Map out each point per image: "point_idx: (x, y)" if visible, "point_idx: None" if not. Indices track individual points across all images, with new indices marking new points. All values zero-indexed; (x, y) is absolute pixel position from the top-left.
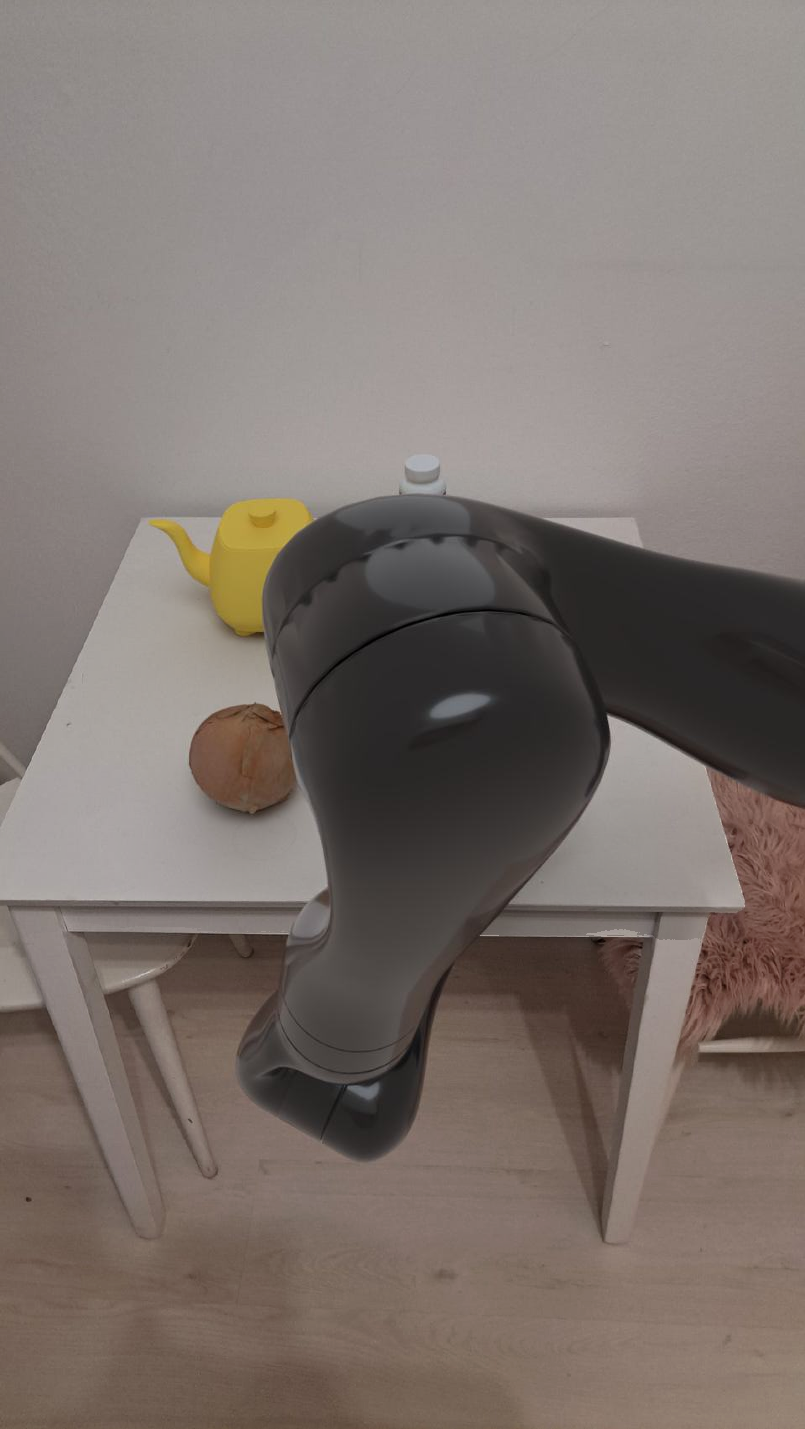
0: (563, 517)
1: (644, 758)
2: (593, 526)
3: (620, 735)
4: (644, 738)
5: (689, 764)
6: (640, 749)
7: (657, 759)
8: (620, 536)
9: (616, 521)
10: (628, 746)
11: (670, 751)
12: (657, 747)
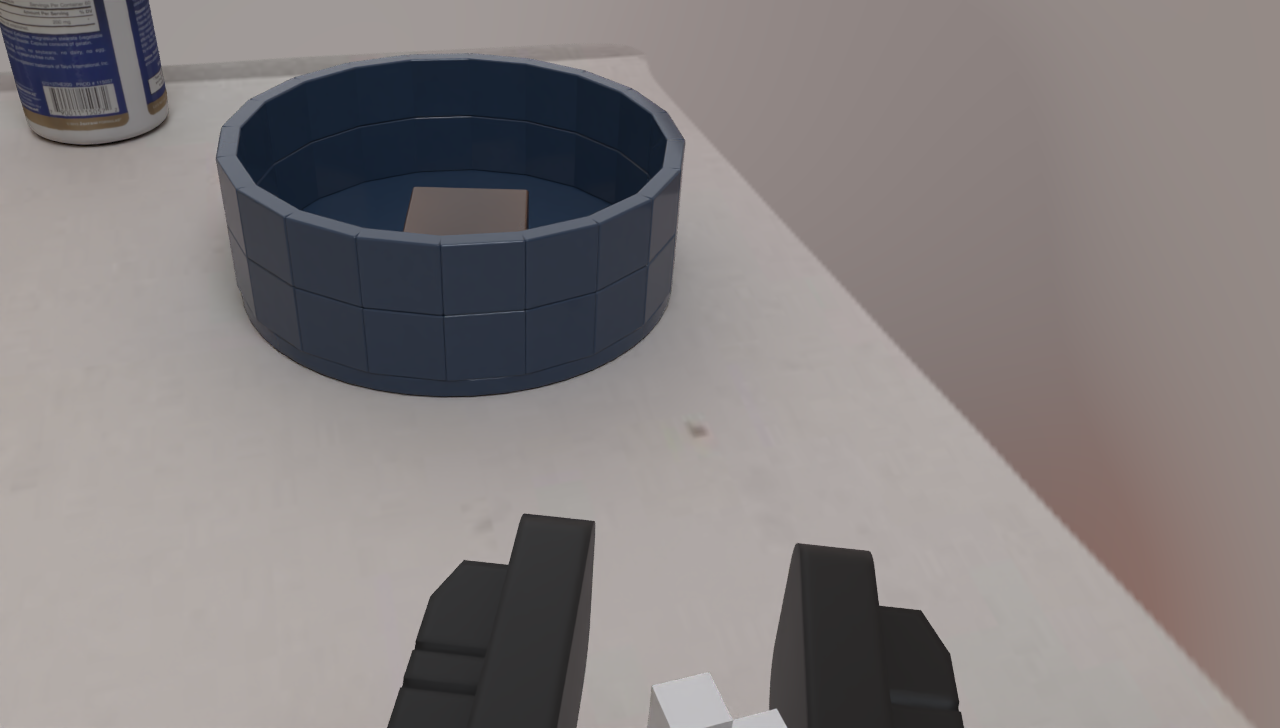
0: None
1: (1054, 718)
2: None
3: None
4: (1002, 627)
5: (1221, 703)
6: (1016, 679)
7: (1101, 710)
8: (640, 87)
9: (619, 63)
10: (967, 676)
11: (1121, 661)
12: (1068, 655)
